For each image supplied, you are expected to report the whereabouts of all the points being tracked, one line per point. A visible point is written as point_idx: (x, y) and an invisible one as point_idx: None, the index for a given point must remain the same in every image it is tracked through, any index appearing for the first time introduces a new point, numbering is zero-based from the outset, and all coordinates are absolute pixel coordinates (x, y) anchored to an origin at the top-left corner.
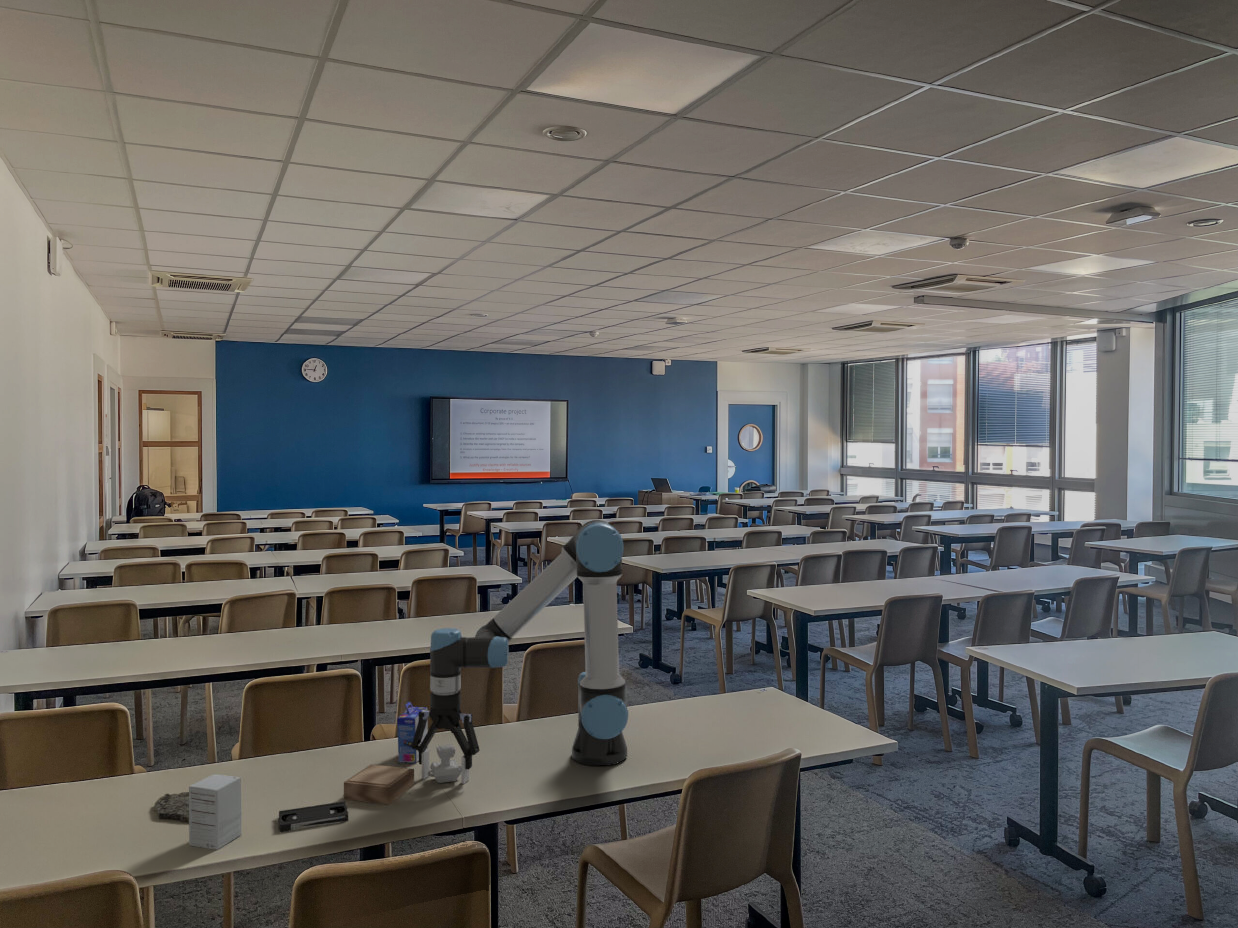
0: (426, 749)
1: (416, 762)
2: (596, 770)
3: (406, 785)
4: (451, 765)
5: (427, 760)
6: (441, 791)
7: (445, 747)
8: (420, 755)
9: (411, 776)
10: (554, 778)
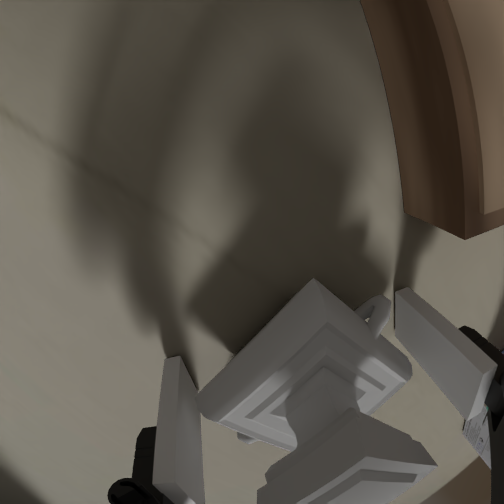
0: (467, 431)
1: None
2: (4, 499)
3: (410, 123)
4: (280, 418)
5: (440, 369)
6: (200, 217)
7: (356, 500)
8: (490, 356)
9: (438, 192)
10: (3, 466)
